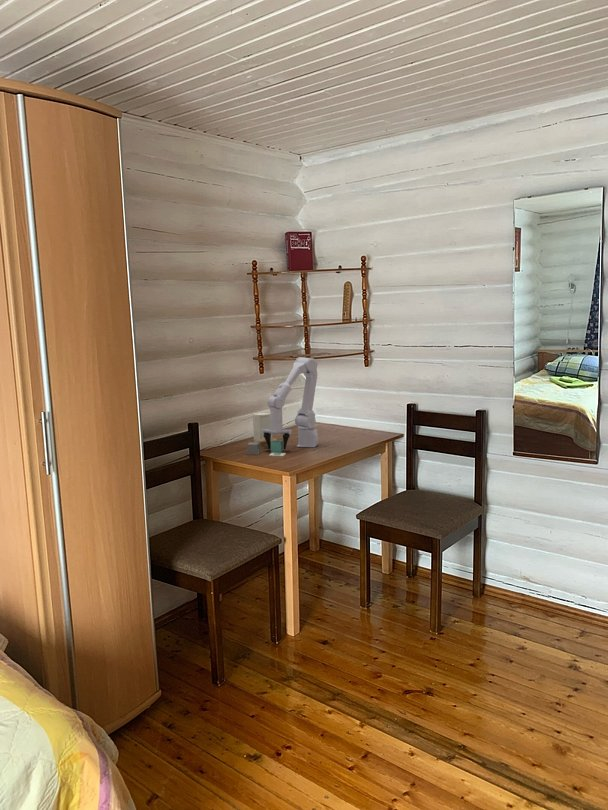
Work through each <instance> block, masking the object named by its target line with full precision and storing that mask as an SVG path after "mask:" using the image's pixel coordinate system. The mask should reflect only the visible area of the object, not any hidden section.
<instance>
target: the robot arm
mask: <svg viewBox="0 0 608 810" xmlns="http://www.w3.org/2000/svg"><path fill="white" fill-rule="evenodd" d="M302 374H303V375H304V376H305V381H304V389H303V393H302V394H303V395H302V400H301V401H302V402H301V408H299V410H297V414H296V416H295V417H294V423H295V424H296V426H297V431H298V432H297V433H298V437H297V438H298V443H297V445H296V447H298V448H316V447H317V446H318V444H319V442H318V436H319V435H318V428H314V427H315V426H316V424H317V423H316V413H315V412H314V410H313V406H314V401H315V394H316V387H317V380H318V362H317V360H316V359H315V358H312V357H302V356H299V357H296V359H295V361H294V362H293V366H292V369H291V371H290V372H289V374H288V376H287V377H286V380H285V381H284V382H281V383H280V384H279V385H278V388H277V389H276V391H275V392H274V393H273V395H272V396H270V397H269V398H268V399H267V403H266V404H267V405H268V407H269V413H270V420H271V429H262V434H264V435H263V436H264V438H265V440H266V442H267V445H268V449H267V450H271V449H270V448H271V434H272V435H276V434H277V435H282V440H283V448H284V450H286V449H287V444H288V441H289V438H290V435H292V434H293V431H292V429H287V428H283V427H284V426H283V407H284V406H285V404H286V403H285V401H286V399H287V397H288V395H289V394H290V393H291V391H292V388H291V386H292V385H293V384H294V383H295V381H296V380H297V378H298V377H299V376H300V375H302Z"/></svg>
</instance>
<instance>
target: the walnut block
mask: <svg viewBox="0 0 608 810" xmlns="http://www.w3.org/2000/svg"><path fill="white" fill-rule="evenodd" d="M273 440H279V438H273V437H272V438H271V442H272V441H273ZM257 442H260V450H271V448H270V449H268V445H267V442H266V440H265V438H262V439H260V440H259V441H257Z"/></svg>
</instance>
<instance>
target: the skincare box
mask: <svg viewBox="0 0 608 810" xmlns="http://www.w3.org/2000/svg"><path fill="white" fill-rule="evenodd" d="M252 419H253V423H252V424H253V442H257V441H259V440H260V439H262V438H264V436H263V435H264V434H262V429H271V420H270V412H269V413H268V412H259V413H254V414H253V415H252ZM271 438H273V434H271Z"/></svg>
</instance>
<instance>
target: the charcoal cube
mask: <svg viewBox="0 0 608 810" xmlns="http://www.w3.org/2000/svg"><path fill="white" fill-rule="evenodd" d="M246 453H247V455H249V456H251V455H252V456H258V455H259V454H261V449H260V442H254V441H250V442H248V443H246Z"/></svg>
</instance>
